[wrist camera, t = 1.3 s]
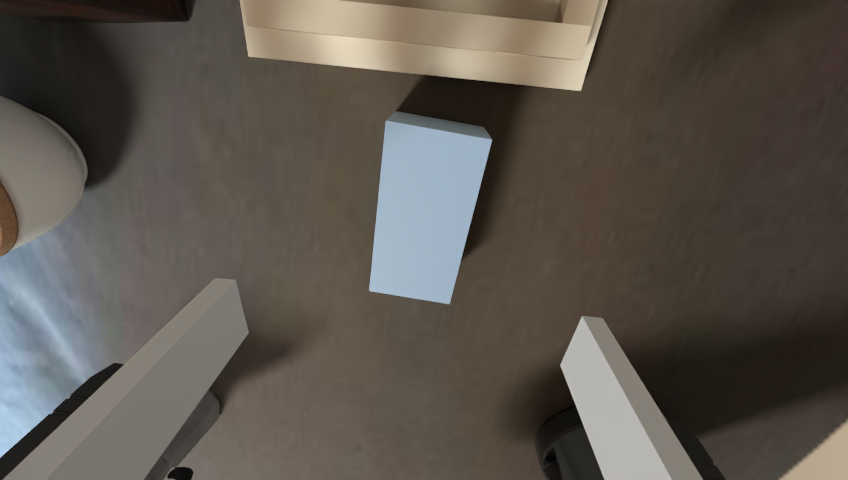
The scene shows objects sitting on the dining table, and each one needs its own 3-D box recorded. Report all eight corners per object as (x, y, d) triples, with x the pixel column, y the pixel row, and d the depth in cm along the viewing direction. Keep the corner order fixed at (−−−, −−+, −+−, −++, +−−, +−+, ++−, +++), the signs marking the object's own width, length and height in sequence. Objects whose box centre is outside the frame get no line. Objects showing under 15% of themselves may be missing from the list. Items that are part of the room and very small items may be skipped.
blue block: (396, 110, 21) (385, 120, 18) (483, 126, 22) (492, 139, 18) (379, 258, 27) (369, 291, 23) (448, 269, 27) (449, 304, 23)
